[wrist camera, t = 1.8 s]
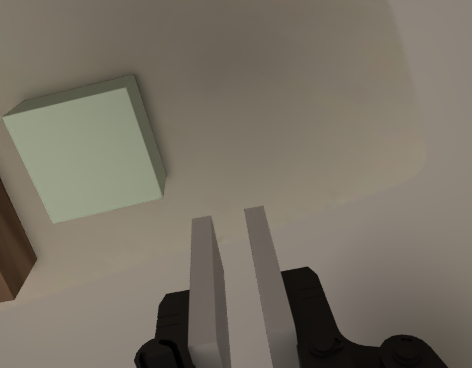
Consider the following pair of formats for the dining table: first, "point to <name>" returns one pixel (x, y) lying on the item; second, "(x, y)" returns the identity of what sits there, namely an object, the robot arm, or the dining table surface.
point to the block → (88, 149)
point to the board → (12, 250)
